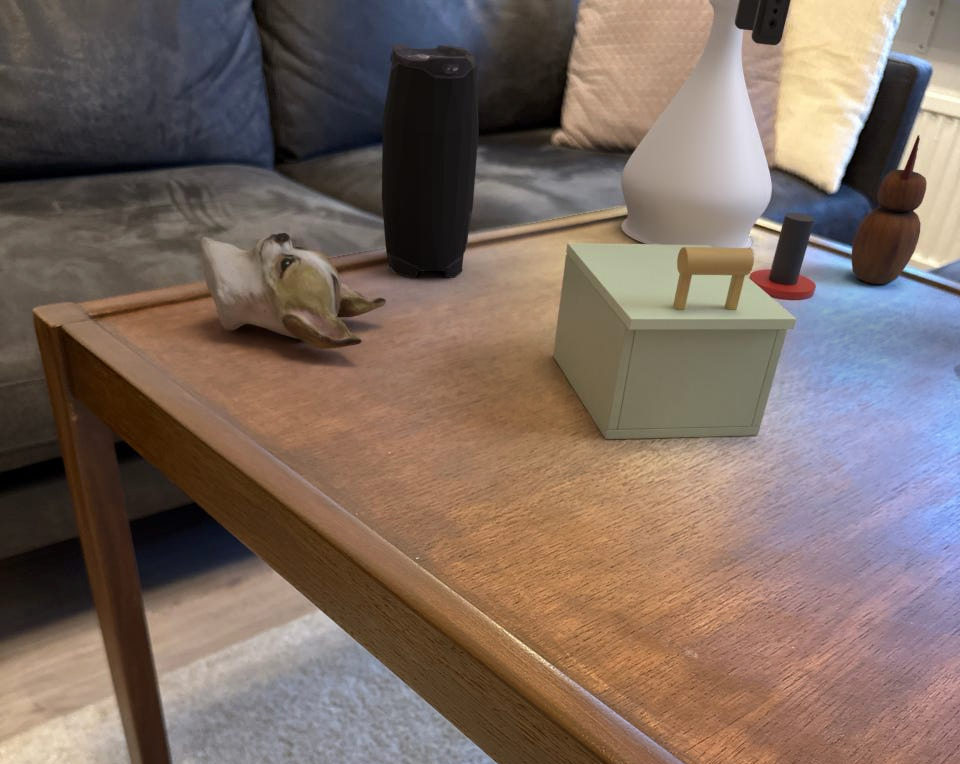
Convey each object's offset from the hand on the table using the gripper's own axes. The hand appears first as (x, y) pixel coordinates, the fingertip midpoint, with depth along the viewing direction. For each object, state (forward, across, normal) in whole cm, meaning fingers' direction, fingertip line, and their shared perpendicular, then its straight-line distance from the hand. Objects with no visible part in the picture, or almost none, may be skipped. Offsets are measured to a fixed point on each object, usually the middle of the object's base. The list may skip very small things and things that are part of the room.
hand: (755, 36), depth 79 cm
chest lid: (+15, -17, +5) cm, 23 cm away
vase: (+24, +31, -3) cm, 39 cm away
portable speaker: (+24, +10, +27) cm, 37 cm away
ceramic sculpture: (+24, -11, +36) cm, 45 cm away
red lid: (+24, +14, -11) cm, 30 cm away
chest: (+24, -16, +5) cm, 30 cm away
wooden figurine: (+24, +20, -23) cm, 39 cm away
